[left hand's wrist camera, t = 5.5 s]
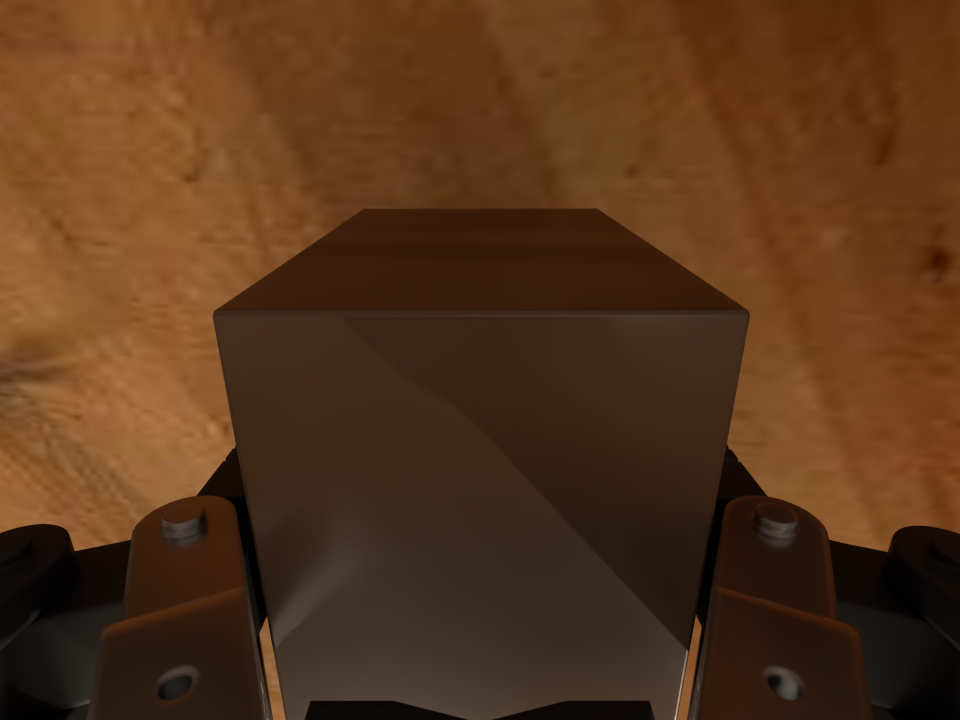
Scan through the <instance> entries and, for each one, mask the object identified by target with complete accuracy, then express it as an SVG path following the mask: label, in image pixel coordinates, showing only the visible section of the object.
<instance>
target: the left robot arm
mask: <svg viewBox="0 0 960 720" xmlns="http://www.w3.org/2000/svg"><path fill="white" fill-rule="evenodd" d="M266 617H267V612H266V607H265V601H264V596H263V590H262V585H261V579H260V574H259V568H258V563H257V557H256V552H255V546H254V541H253V535H252V530H251V524H250V519H249V513H248V508H247V502H246V497H245V491H244V485H243V480H242V474H241V469H240V463H239V458H238V452H237V447H236V445H235V449H232V451H231V452H230V453H229V455H228V456H227V457H226V461H223V462H222V464H221V465H220V466H219V467H218V469H217V470H216V471H215V473H214V474H213V475H212V477H211V478H210V479H209V480H208V482H207V483H206V484H205V486H204V487H203V488H202V489H201V491H200V492H199V493H198V495H197V496H193V497H188V498H183V499H180V500H176V501H174V502H171V503H168V504H166V505H164V506H161V507H159V508H158V509H156V510H154V511H152V512H151V513H150V514H148V515H147V516H145V517H144V518H143V519H142V520H141V521H140V522H139V523H138V524H137V526H136V527H135V529H134V530H133V533H132V536H131V540H128V541H124V542H119V543H114V544H109V545H104V546H99V547H94V548H89V549H84V550H79V551H74V548H73V545H72V542H71V538H70V535H69V533H68V532H67V530H65V529H64V528H62V527H60V526H57V525H51V524H37V525H29V526H23V527H19V528H15V529H11V530H8V531H5V532H2V533H0V720H273V716H272V710H271V703H270V697H269V690H268V684H267V677H266V671H265V664H264V658H263V651H262V645H261V640H260V634H259V633H260V631H261V628H262V626H263V624H264V622H265V619H266ZM695 618H698V620H699V622H700V624H701V626H702V629H701V635H700V640H699V645H698V651H697V658H696V664H695V671H694V677H693V684H692V690H691V697H690V704H689V710H688V717H687V720H960V534H958V533H955V532H952V531H949V530H945V529H940V528H935V527H929V526H909V527H904V528H902V529H899V530H898V531H896V532H895V534H894V535H893V538H892V541H891V544H890V547H889V550H888V552H885V551H880V550H875V549H870V548H865V547H860V546H855V545H850V544H845V543H840V542H836V541H832V540H829V536H828V533H827V530H826V529H825V527H824V526H823V524H822V523H821V522H820V521H819V520H818V519H817V518H816V517H815V516H813V515H812V514H810V513H809V512H808V511H806V510H804V509H802V508H801V507H799V506H796V505H794V504H792V503H789V502H786V501H784V500H780V499H777V498H772V497H768V496H767V495H766V494H765V493H764V491H763V490H762V489H761V487H760V486H759V485H758V484H757V482H756V481H755V480H754V478H753V477H752V476H751V475H750V473H749V472H748V471H747V470H746V468H745V467H744V466H743V464H742V463H741V462H738V458H737V457H736V455H735V454H734V453H733V452H732V450H731V449H728V445H726V450H725V456H724V461H723V467H722V472H721V478H720V483H719V489H718V494H717V500H716V506H715V511H714V517H713V522H712V528H711V533H710V539H709V544H708V550H707V555H706V561H705V566H704V572H703V578H702V583H701V589H700V594H699V600H698V605H697V611H696V616H695ZM305 720H467V719H463V718H459V717H455V716H452V715H448V714H444V713H440V712H436V711H432V710H428V709H424V708H420V707H416V706H413V705H409V704H405V703H401V702H397V701H310V703H309V707H308V710H307V713H306V717H305ZM493 720H655V717H654V713H653V710H652V707H651V703H650V701H563V702H559V703H555V704H551V705H547V706H544V707H540V708H536V709H532V710H528V711H524V712H520V713H516V714H512V715H508V716H505V717H501V718H497V719H493Z"/></svg>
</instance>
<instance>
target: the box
mask: <svg viewBox="0 0 960 720" xmlns="http://www.w3.org/2000/svg"><path fill="white" fill-rule="evenodd" d="M749 317H750V315H749V311H748V310H747V309H745V308H744V307H742V306H741V305H739V304H738V303H736V302H735V301H733V300H732V299H731V298H729V297H728V296H726V295H725V294H723V293H722V292H720V291H719V290H717V289H716V288H714V287H713V286H711V285H710V284H708V283H707V282H705V281H704V280H702V279H701V278H699V277H698V276H696V275H695V274H693V273H692V272H690V271H689V270H688V269H686V268H685V267H683V266H682V265H680V264H679V263H677V262H676V261H674V260H673V259H671V258H670V257H668V256H667V255H665V254H664V253H662V252H661V251H659V250H658V249H656V248H655V247H653V246H652V245H650V244H649V243H648V242H646V241H645V240H643V239H642V238H640V237H639V236H637V235H636V234H634V233H633V232H631V231H630V230H628V229H627V228H625V227H624V226H622V225H621V224H619V223H618V222H616V221H615V220H613V219H612V218H610V217H609V216H607V215H606V214H605V213H603V212H602V211H600V210H599V209H364V210H362V211H360V212H359V213H357V214H356V215H355V216H353V217H352V218H350V219H349V220H347V221H346V222H344V223H343V224H341V225H340V226H338V227H337V228H335V229H334V230H333V231H331V232H330V233H328V234H327V235H325V236H324V237H322V238H321V239H319V240H318V241H316V242H315V243H313V244H312V245H310V246H309V247H308V248H306V249H305V250H303V251H302V252H300V253H299V254H297V255H296V256H294V257H293V258H291V259H290V260H288V261H287V262H286V263H284V264H283V265H281V266H280V267H278V268H277V269H275V270H274V271H272V272H271V273H269V274H268V275H266V276H265V277H263V278H262V279H261V280H259V281H258V282H256V283H255V284H253V285H252V286H250V287H249V288H247V289H246V290H244V291H243V292H241V293H240V294H239V295H237V296H236V297H234V298H233V299H231V300H230V301H228V302H227V303H225V304H224V305H222V306H221V307H219V308H218V309H216V310H215V311H214V313H213V320H214V326H215V331H216V337H217V342H218V348H219V353H220V359H221V364H222V370H223V375H224V381H225V386H226V392H227V397H228V403H229V408H230V414H231V419H232V425H233V430H234V436H235V441H236V447H237V452H238V458H239V463H240V469H241V474H242V480H243V485H244V491H245V497H246V502H247V508H248V513H249V519H250V524H251V530H252V535H253V541H254V546H255V552H256V557H257V563H258V568H259V574H260V579H261V585H262V590H263V596H264V601H265V607H266V612H267V618H268V623H269V629H270V634H271V640H272V645H273V651H274V656H275V662H276V667H277V673H278V678H279V684H280V689H281V695H282V700H283V706H284V711H285V717H286V720H305V717H306V713H307V710H308V707H309V703H310V701H397V702H401V703H405V704H409V705H413V706H416V707H420V708H424V709H428V710H432V711H436V712H440V713H444V714H448V715H452V716H455V717H459V718H463V719H467V720H493V719H497V718H501V717H505V716H508V715H512V714H516V713H520V712H524V711H528V710H532V709H536V708H540V707H544V706H547V705H551V704H555V703H559V702H563V701H650V703H651V707H652V710H653V713H654V717H655V720H677V716H678V711H679V705H680V699H681V694H682V688H683V683H684V677H685V672H686V666H687V661H688V655H689V650H690V644H691V639H692V633H693V627H694V622H695V616H696V611H697V605H698V600H699V594H700V589H701V583H702V578H703V572H704V566H705V561H706V555H707V550H708V544H709V539H710V533H711V528H712V522H713V517H714V511H715V506H716V500H717V494H718V489H719V483H720V478H721V472H722V467H723V461H724V456H725V450H726V445H727V439H728V433H729V428H730V422H731V417H732V411H733V406H734V400H735V395H736V389H737V384H738V378H739V373H740V367H741V361H742V356H743V350H744V345H745V339H746V334H747V328H748V323H749Z"/></svg>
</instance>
